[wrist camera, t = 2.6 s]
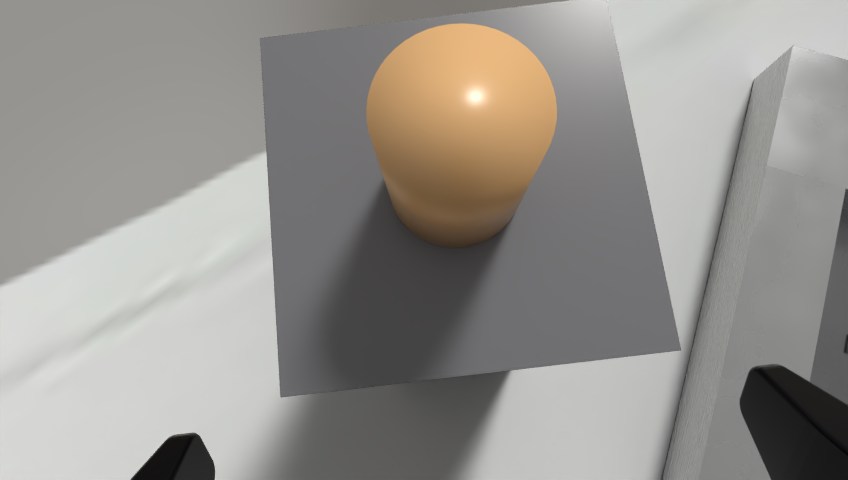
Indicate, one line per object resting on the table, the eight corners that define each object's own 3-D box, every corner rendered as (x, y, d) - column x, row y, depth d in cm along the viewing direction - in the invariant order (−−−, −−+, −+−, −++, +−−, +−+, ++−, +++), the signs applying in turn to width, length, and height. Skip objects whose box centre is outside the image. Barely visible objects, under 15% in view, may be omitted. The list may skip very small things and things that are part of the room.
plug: (517, 352, 19) (798, 349, 4) (389, 367, 19) (204, 418, 4) (499, 227, 20) (671, -144, 5) (376, 241, 20) (189, -86, 5)
